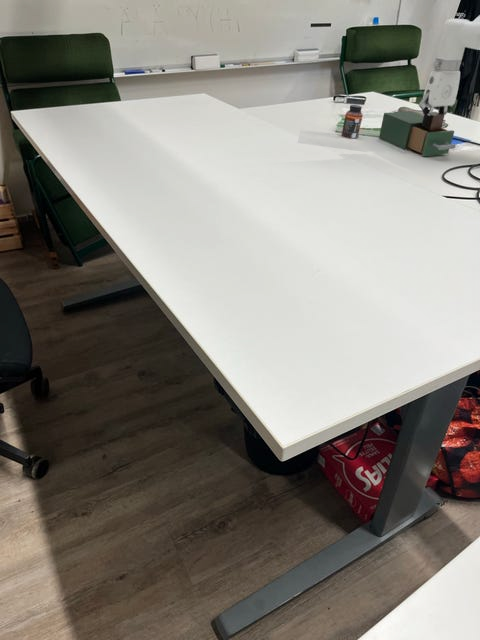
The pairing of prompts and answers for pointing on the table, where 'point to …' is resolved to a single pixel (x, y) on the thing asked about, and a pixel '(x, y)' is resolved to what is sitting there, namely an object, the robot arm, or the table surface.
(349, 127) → the supplement bottle
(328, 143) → the table surface
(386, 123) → the cabinet
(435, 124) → the block
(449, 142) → the drawer
